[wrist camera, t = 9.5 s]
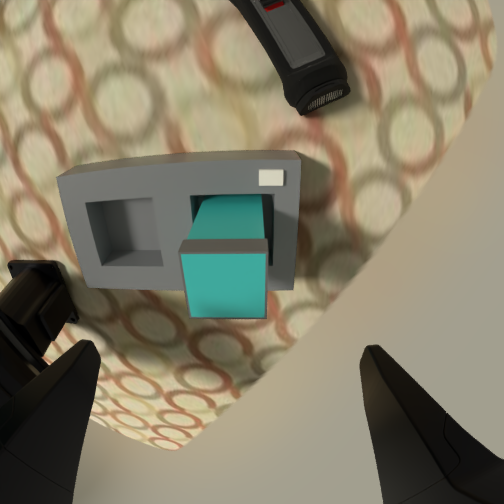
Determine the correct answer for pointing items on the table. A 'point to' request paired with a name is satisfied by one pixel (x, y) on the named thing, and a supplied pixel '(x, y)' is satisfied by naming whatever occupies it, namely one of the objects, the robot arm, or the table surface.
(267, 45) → the electric trimmer
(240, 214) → the plug
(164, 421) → the table surface
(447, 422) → the robot arm
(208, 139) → the table surface
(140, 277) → the grey flat block
